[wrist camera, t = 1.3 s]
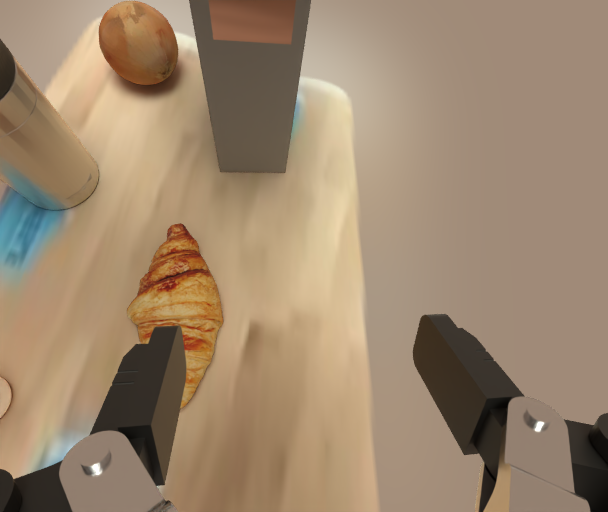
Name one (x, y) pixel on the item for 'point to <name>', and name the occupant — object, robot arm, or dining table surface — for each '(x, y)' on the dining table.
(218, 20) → the batten
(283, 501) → the dining table surface
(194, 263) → the croissant
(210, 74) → the stand
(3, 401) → the drinking glass
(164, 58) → the onion
